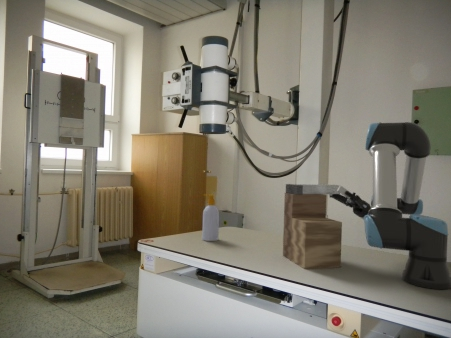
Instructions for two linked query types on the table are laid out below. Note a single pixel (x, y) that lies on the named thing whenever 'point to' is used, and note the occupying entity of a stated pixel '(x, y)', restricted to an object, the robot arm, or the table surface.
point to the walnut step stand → (310, 232)
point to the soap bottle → (210, 221)
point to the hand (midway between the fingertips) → (330, 187)
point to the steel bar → (311, 189)
